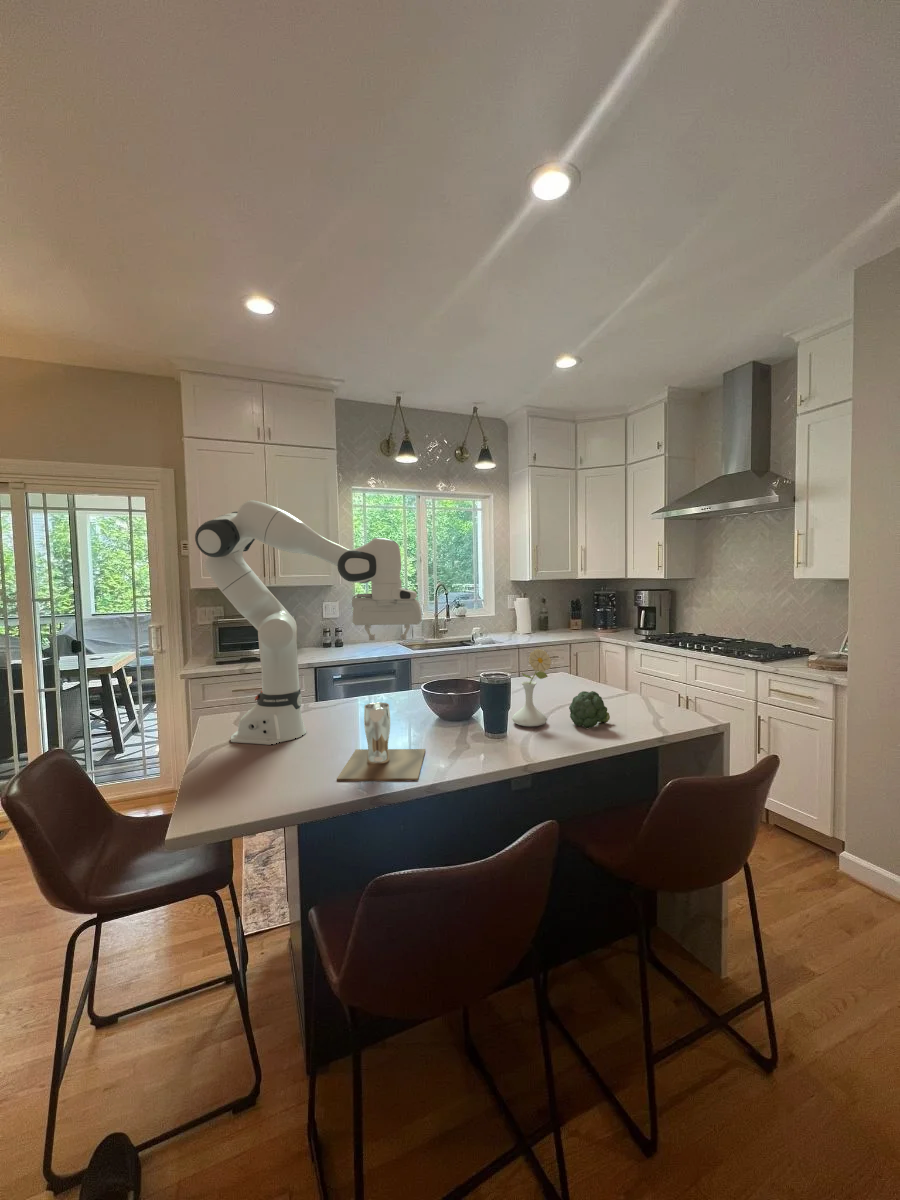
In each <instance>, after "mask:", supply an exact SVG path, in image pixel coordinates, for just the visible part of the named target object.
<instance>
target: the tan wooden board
mask: <svg viewBox="0 0 900 1200" xmlns="http://www.w3.org/2000/svg"><path fill="white" fill-rule="evenodd" d="M388 753H389V757H390V761H389V762H388V763H385V764H382V765H371V764H369V763H368V762H367V757H368V748H366V749H362V748H361V749H354V751H353V752H352V754H351V756H350V757H349V759H348V761H347V762H346V764H345V765H344V767H343V768H342V770H341V771H340V773H339V774H338V776H337V778H336V782H406V781H405V780H418V781H419V779H420V774H421V771H420V770H421V769H422V767H421V766H423V763H424V759H423V758H425V755H426V748H392V749H391V748H388ZM424 754H425V755H424ZM422 762H423V763H422Z"/></svg>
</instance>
